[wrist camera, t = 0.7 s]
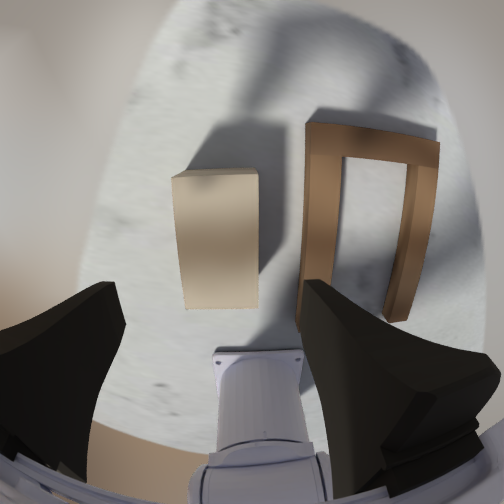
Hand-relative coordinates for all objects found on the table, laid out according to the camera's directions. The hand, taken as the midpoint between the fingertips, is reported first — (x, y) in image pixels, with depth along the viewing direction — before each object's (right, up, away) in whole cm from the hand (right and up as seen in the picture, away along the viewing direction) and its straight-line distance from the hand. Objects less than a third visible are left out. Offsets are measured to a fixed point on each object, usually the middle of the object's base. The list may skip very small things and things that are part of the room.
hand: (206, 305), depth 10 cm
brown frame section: (+10, +3, +9) cm, 14 cm away
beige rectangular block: (0, +4, +9) cm, 10 cm away
